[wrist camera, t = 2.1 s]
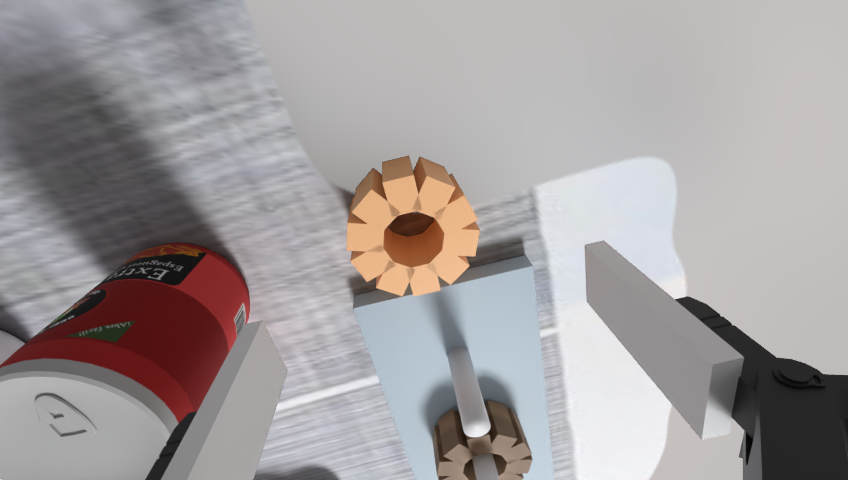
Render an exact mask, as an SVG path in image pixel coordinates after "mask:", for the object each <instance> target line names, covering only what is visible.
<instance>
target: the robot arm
mask: <svg viewBox="0 0 848 480" xmlns="http://www.w3.org/2000/svg"><path fill="white" fill-rule="evenodd" d="M585 266H586V293H587V302H588V304H589V305H590V306H591V307H592V308H593V310H594V311H595V312H596V313H597V314H598V316H599V317H600V318H601V319H602V320H603V322H604V323H605V324H606V325H607V326H608V328H609V329H610V330H611V331H612V333H613V334H614V335H615V336H616V337H617V339H618V340H619V341H620V342H621V343H622V345H623V346H624V347H625V348H626V349H627V351H628V352H629V353H630V354H631V355H632V357H633V358H634V359H635V360H636V361H637V363H638V364H639V365H640V366H641V367H642V369H643V370H644V371H645V372H646V373H647V375H648V376H649V377H650V378H651V379H652V381H653V382H654V383H655V384H656V385H657V387H658V388H659V389H660V390H661V391H662V393H663V394H664V395H665V396H666V398H667V399H668V400H669V401H670V402H671V404H672V405H673V406H674V407H675V408H676V410H677V411H678V412H679V413H680V414H681V416H682V417H683V418H684V419H685V420H686V421H687V423H688V424H689V425H690V426H691V428H692V429H693V430H694V431H695V432H696V434H697V435H698V436H699V437H700V438H701V440H703V439H708V438H712V437H716V436H721V435H725V434H729V433H730V428H731V423H732V418H733V419H734V420H735V421H736V422H737V423H738V424H739V425H740V426H741V427H742V428H743V429H744V430H745V431H744V436H743V441H742V445H741V450H740V454H739V457H740V458H743V480H848V375H826V374H822V373H821V372H820V371H818V370H817V369H815V368H813V367H811V366H809V365H807V364H805V363H802V362H799V361H795V360H792V359H784V358H776V357H775V356H774V355H772V354H771V353H770V352H768V351H767V350H766V349H764V348H763V347H762V346H761V345H759V344H758V343H757V342H755V341H754V340H753V339H751V338H750V337H749V336H747V335H746V334H745V333H743V332H742V331H741V330H740V329H738V328H737V327H736V326H732V324H731V323H730V322H729V321H728V320H726V319H725V318H724V317H721V316H720V314H719V313H717V312H716V311H714V310H713V309H712V308H711V307H709V306H708V305H707V304H705V303H702V302H700V301H698V300H695V299H693V298H691V297H684V298H679V299H673V298H672V297H671V296H670V295H669V294H667V293H666V292H665V291H664V290H663V289H661V288H660V287H659V286H658V285H657V284H655V283H654V282H653V281H652V280H651V279H649V278H648V277H647V276H646V275H644V274H643V273H642V272H641V271H640V270H638V269H637V268H636V267H635V266H634V265H632V264H631V263H630V262H629V261H628V260H626V259H625V258H624V257H623V256H622V255H620V254H619V253H618V252H617V251H616V250H614V249H613V248H612V247H611V246H610V245H608V244H607V243H606V242H605V241H600V242H596V243H591V244H587V245H585ZM286 375H287V368H286V366H285V364H284V362H283V360H282V358H281V356H280V354H279V352H278V350H277V348H276V346H275V344H274V342H273V340H272V338H271V336H270V334H269V332H268V330H267V328H266V326H265V324H264V322H263V320H261V321H257V322H253V323H248V324H244V326H243V327H242V329H241V331H240V333H239V335H238V337H237V339H236V340H235V342H234V344H233V346H232V348H231V350H230V352H229V353H228V355H227V357H226V359H225V361H224V363H223V365H222V367H221V368H220V370H219V372H218V374H217V376H216V378H215V380H214V381H213V383H212V385H211V387H210V389H209V391H208V393H207V395H206V396H205V398H204V400H203V402H202V404H201V406H200V408H199V409H198V411H195V412H191V413H188V414H187V415H186V416H185V417H184V419H183V420H182V421H181V422H180V423H179V424H178V425H177V426H176V427H175V428H174V430H173V432H172V434H171V435H170V437H169V439H168V441H167V442H166V446H164V448H163V449H162V451H161V453H160V455H159V459H157V460H156V462H155V463H154V465H153V467H152V469H151V470H150V472H149V474H148V476H147V477H146V479H145V480H253V479H254V476H255V473H256V470H257V466H258V463H259V460H260V457H261V454H262V451H263V447H264V444H265V441H266V438H267V435H268V432H269V428H270V425H271V422H272V419H273V416H274V413H275V409H276V406H277V403H278V400H279V397H280V394H281V390H282V387H283V384H284V381H285V378H286Z"/></svg>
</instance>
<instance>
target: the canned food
mask: <svg viewBox="0 0 848 480" xmlns="http://www.w3.org/2000/svg"><path fill="white" fill-rule="evenodd" d="M249 312H250V299H249V292H248V289H247V285H246V283H245V281H244V279H243V278H242V276H241V274H240V273H239V272H238V271H237V270H236V268H235V267H234V266H233V265H232V264H231V263H229V262H228V261H227V260H226V259H225V258H223V257H222V256H220V255H218V254H217V253H215V252H213V251H211V250H209V249H206V248H204V247H201V246H197V245H193V244H187V243H169V244H163V245H159V246H156V247H152V248H149V249H146V250H143V251H142V252H140V253H138V254H136V255H134V256H133V257H132V258H131V259H130V260H128V261H127V262H126V263H125V264H123V265H122V266H121V267H120V268H118V269H117V270H116V271H115V272H113V273H112V274H111V275H110V276H108V277H107V278H106V279H105V280H104V281H102V282H101V283H100V284H99V285H97V286H96V287H95V288H94V289H92V290H91V291H90V292H89V293H87V294H86V295H85V296H84V297H83V298H81V299H80V300H79V301H78V302H76V303H75V304H74V305H73V306H71V307H70V308H69V309H68V310H66V311H65V312H64V313H63V314H61V315H60V316H59V317H58V318H57V319H55V320H54V321H53V322H52V323H50V324H49V325H48V326H47V327H45V328H44V329H43V330H42V331H40V332H39V333H38V334H37V335H35V336H34V337H33V338H32V339H31V340H29V341H28V342H27V343H26V344H24V345H23V346H22V347H21V348H19V349H18V350H17V351H16V352H14V353H13V354H12V355H11V356H10V357H9V358H8V359H7V360H6V361H4V362H3V363H2V364H1V365H0V479H1V480H145V479H146V477H147V476H148V474H149V472H150V470H151V469H152V467H153V465H154V463H155V462H156V460H157V459H159V455H160V453H161V451H162V449H163V448H164V446H166V442H167V441H168V439H169V437H170V435H171V434H172V432H173V430H174V428H175V427H176V426H177V425H178V424H179V423H180V422H181V421H182V420H183V419H184V417H185V416H186V415H187V414H188V413H191V412H195V411H198V409H199V408H200V406H201V404H202V402H203V400H204V398H205V396H206V395H207V393H208V391H209V389H210V387H211V385H212V383H213V381H214V380H215V378H216V376H217V374H218V372H219V370H220V368H221V367H222V365H223V363H224V361H225V359H226V357H227V355H228V353H229V352H230V350H231V348H232V346H233V344H234V342H235V340H236V339H237V337H238V335H239V333H240V331H241V329H242V327H243V326H244V324H246V323H247V321H248V318H249Z"/></svg>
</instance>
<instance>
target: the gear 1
mask: <svg viewBox="0 0 848 480" xmlns="http://www.w3.org/2000/svg"><path fill="white" fill-rule="evenodd" d="M415 211H418V212H420V213H423V214H426V215H428V216H431V217H434V221H433V223H432V224H431V225H430V226H429V227H428V228H427V229H426V230H425V231H424V232H423V233H421V234H417V235H413V236H409V237H406V236H403V235H400V234H397V233H394V232H392V231H391V230H390V228H389V227H388V225H389V224H390V223H391V222H392V221H393V220H394V219H395V218H396V217H397V216H398V215H402V214H407V213H411V212H415ZM476 220H478V218H477V217H476V215H475V213H474V211H473V210H472V208H471V206H470V204H469V202H468V201H467V199H466V197H465V195H464V194H463V192H462V190H461V189H460V187H459V186H458V184H457V182H456V180H455V178H454V176H453V175H452V174H450V175H448V173H447V171H446V170H445V168H444V167H443V166H441V165H439V164H436V163H434V162H431V161H429V160H426V159H424V158H421V157H419V159H418V162H417V164H416V166H415V169H414V171H413V170H412V166H411V162H410V158H409V156H406V157H401V158H398V159H393V160H389V161H385V162H382V175H381V174H380V173H379V172H378V171H377V170H375V169H374V168H373V169H372V170H371V171H370V172H369V173H368V174H367V176H366V177H365V178H364V179H363V180H362V182H361V183H360V184H359V185H358V186H357V188H356V192H355V197H353V198H352V203H351V208H350V213H349V218H348V223H347V251H352V254H351V262H352V264H353V265H354V266H355V267H356V269H357V270H358V271H359V272H360V274H361V275H362V276H363V278H364V279H365V280H366V281H367V282H368V281H370V280H372V279H374V278H375V277H376V288H378V289H381V290H384V291H387V292H390V293H394V294H397V295H400V296H403V294H404V292H405V290H406V288H407V286H408V284H409V282H410V285H411V289H412V292H413V296H419V295H423V294H427V293H431V292H436V291H440V290H441V289H440V285H439V280H438V276H439V277H440V278H442V279H443V280H445V281H446V282H447V283H449V284H450V285H451V284H452V283H453V282H454V281H455V280H456V279H457V278H458V277H459V276H460V275H461V274H462V273H463V272H464V271H465V270H466V269H467V268H468V267H469V266H470V265H469V262H468V260H467V257H466V256H475V255H476V249H477V244H478V238H479V233H480V230H479V228H478V226H477V224H476V222H475V221H476ZM437 275H438V276H437Z"/></svg>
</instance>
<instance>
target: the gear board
mask: <svg viewBox="0 0 848 480" xmlns="http://www.w3.org/2000/svg"><path fill="white" fill-rule="evenodd" d="M438 280H439V285H440V289H441V290H440V291H436V292H431V293H427V294H423V295H419V296H413V292H412V289H411V285H410V282H409V284H408V286H407V288H406V290H405V292H404V294H403V296H400V295H397V294H394V293H390V292H387V291H384V290H381V289H380V290H376V291H371V292H367V293H363V294H359V295H355V296H354V305H353V309H354V312H355V315H356V318H357V320H358V323H359V326H360V329H361V331H362V334H363V337H364V340H365V342H366V345H367V348H368V350H369V353H370V356H371V359H372V361H373V364H374V367H375V370H376V372H377V375H378V378H379V380H380V383H381V386H382V389H383V391H384V394H385V397H386V400H387V402H388V405H389V408H390V410H391V413H392V416H393V419H394V421H395V424H396V427H397V430H398V432H399V435H400V438H401V440H402V443H403V446H404V449H405V451H406V454H407V457H408V460H409V462H410V465H411V468H412V471H413V473H414V476H415V479H416V480H438V476H437V472H436V464H435V457H434V449H433V441H432V438H433V432H434V426H439V424H438V420H439V419H440V418H441V417H443V416H444V415H445V414H446V413H447V412H448V411H450V410H451V409H454V410H455V411H457V412H459V413H460V417H461V422H462V426H463V431H464V433H465V434H466V435H467V436H469V437H480V436H483V435H485V434H486V433H487V432H488V431H489V430H490V427H491V425H490V422H489V418H488V415H487V411H486V408H485V403H486V402H487V400H489V401H493V402H497V403H501V404H505V405H506V408H507V410H508V409H510V408H511V409H512V410H513V412H514V413H515V414H516V416H517V417H518V419H519V421H520V423H521V426H522V429H523V431H524V434H525V437H526V439H527V442H528V445H529V447H530V450H531V453H532V454H531V456H532V459H533V460H532V463H531V466H530V469H529V472H528V473H525V474H522V475H523V478H524V479H523V480H554V472H553V462H552V452H551V442H550V432H549V422H548V412H547V402H546V392H545V382H544V372H543V362H542V352H541V342H540V332H539V322H538V312H537V302H536V292H535V282H534V272H533V265H532V264H531V262H530V261H529V260H528V258H527V257H526V255H523V256H519V257H515V258H511V259H507V260H502V261H498V262H494V263H490V264H485V265H481V266H477V267H473V268H469V269H466V270H465V271H464V272H463V273H462V274H461V275H460V276H459V277H458V278H457V279H456V280H455V281H454V282H453V283H452V284H451V285H450V284H449V283H447V282H446V281H445V280H443V279H442V278H440V277H439V276H438ZM472 461H473V466H474V470H475V475H476V479H477V480H500V479H499V476H498V472H497V468H496V465H495V461H494V458H493V454H492V453H485V454H481V455H477V456H474V457H473V458H472Z"/></svg>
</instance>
